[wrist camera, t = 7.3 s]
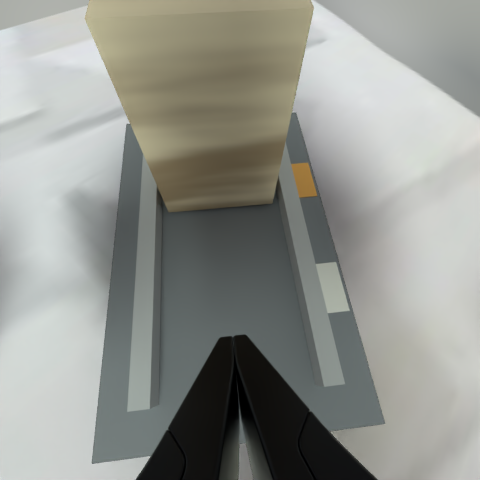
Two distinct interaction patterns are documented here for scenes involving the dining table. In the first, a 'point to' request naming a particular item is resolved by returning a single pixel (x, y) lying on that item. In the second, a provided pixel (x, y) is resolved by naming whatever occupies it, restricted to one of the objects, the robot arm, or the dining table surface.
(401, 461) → the dining table surface
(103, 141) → the dining table surface
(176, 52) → the slider tab
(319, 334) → the switch board
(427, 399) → the dining table surface
